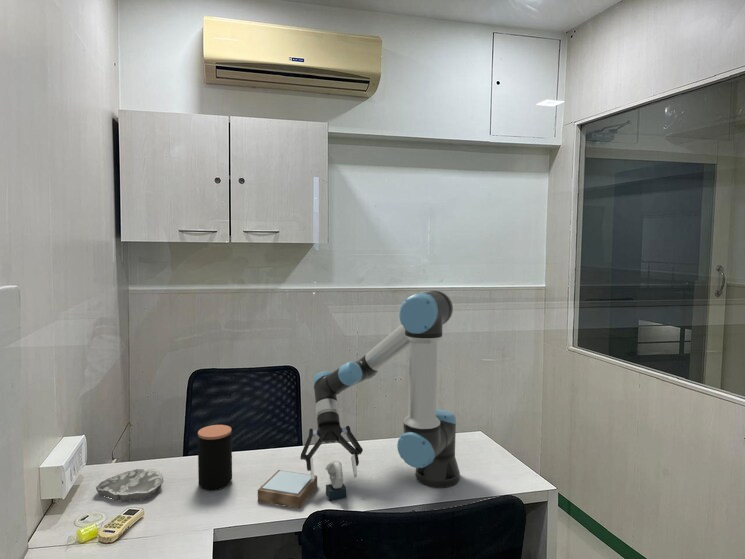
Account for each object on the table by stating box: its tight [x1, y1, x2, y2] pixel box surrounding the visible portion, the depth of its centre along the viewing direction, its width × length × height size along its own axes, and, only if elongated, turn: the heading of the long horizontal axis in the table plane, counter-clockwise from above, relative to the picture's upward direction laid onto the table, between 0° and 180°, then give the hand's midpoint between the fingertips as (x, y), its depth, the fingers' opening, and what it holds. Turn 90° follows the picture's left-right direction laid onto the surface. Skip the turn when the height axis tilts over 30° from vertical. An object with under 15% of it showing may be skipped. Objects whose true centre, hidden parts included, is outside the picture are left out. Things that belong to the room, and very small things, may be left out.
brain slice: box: [95, 468, 165, 502], centre depth 155 cm, size 20×17×3 cm
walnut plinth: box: [257, 469, 318, 509], centre depth 153 cm, size 14×14×4 cm
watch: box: [324, 460, 348, 502], centre depth 151 cm, size 6×8×11 cm
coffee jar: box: [197, 424, 233, 491], centre depth 158 cm, size 11×11×18 cm
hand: (334, 478), depth 151 cm, fingers open, 13 cm apart
